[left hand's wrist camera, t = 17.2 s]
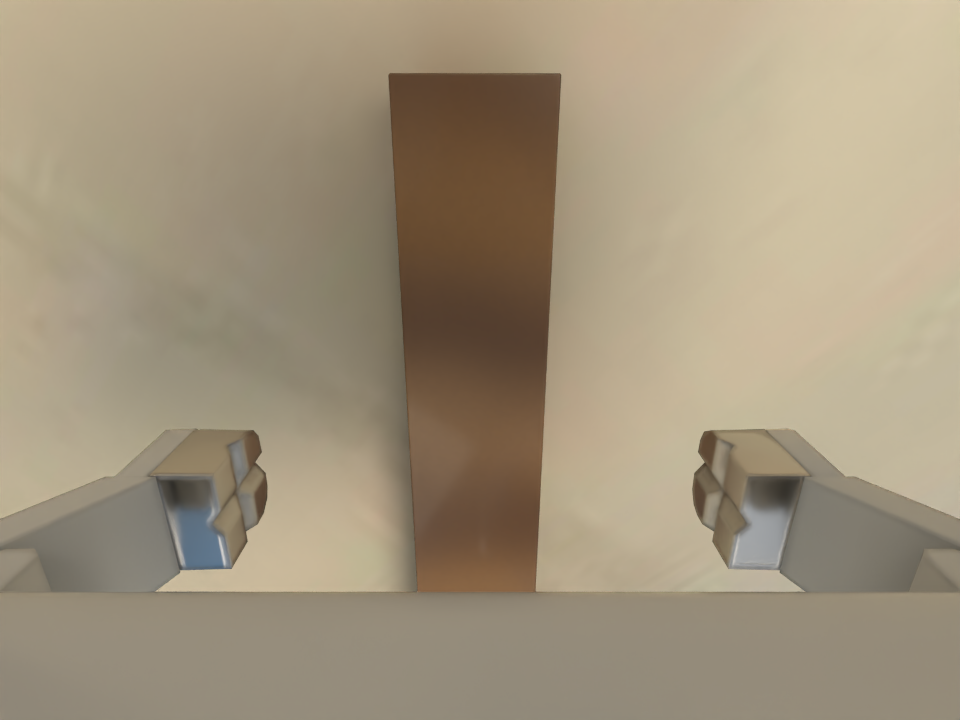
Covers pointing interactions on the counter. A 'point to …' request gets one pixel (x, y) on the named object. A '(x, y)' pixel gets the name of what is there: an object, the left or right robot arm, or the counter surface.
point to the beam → (475, 316)
